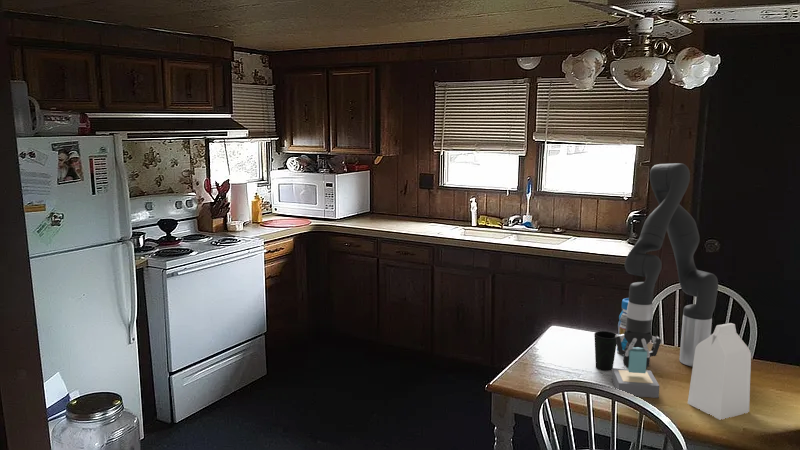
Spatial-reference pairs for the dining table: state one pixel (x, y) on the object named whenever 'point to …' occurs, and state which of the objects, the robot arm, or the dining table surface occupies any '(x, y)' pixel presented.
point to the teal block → (637, 360)
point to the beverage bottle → (623, 322)
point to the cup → (605, 350)
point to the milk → (721, 374)
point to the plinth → (636, 383)
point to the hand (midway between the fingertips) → (635, 366)
